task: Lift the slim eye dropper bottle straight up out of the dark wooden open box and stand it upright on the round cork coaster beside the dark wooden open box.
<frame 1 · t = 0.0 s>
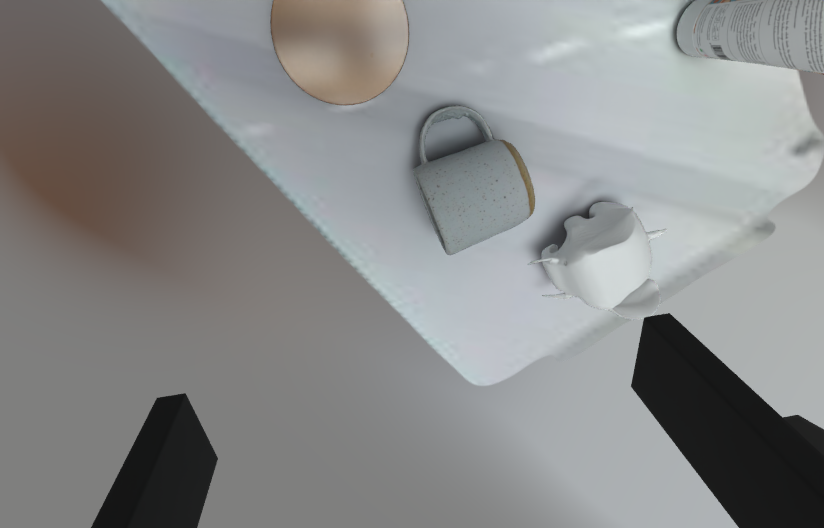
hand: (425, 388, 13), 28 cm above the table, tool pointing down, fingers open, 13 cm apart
elephant figurine: (578, 238, 44), on the table
ceramic mug: (455, 167, 39), on the table
coaster: (341, 33, 33), on the table
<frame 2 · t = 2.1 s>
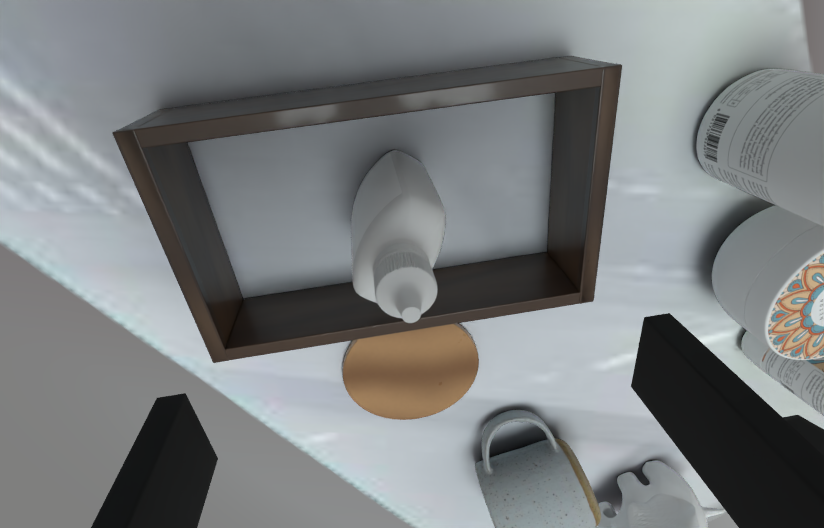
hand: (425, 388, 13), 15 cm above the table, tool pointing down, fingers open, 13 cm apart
cosmetic set: (752, 243, 31), on the table
dark wooden open box: (386, 195, 26), on the table
elephant figurine: (629, 484, 44), on the table
ceramic mug: (513, 446, 39), on the table
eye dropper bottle: (386, 194, 26), resting in dark wooden open box
coaster: (410, 366, 33), on the table
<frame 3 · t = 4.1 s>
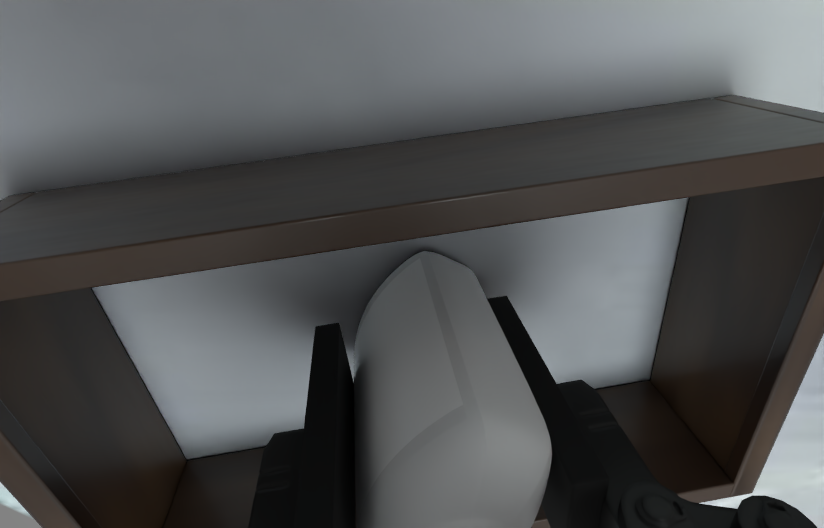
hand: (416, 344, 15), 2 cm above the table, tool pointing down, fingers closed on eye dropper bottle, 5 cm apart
dark wooden open box: (410, 314, 16), on the table
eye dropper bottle: (410, 311, 16), resting in dark wooden open box, touching gripper
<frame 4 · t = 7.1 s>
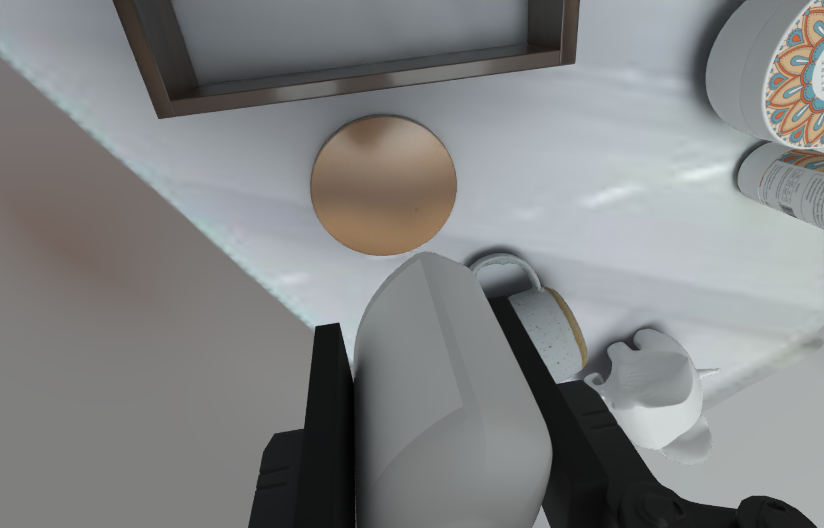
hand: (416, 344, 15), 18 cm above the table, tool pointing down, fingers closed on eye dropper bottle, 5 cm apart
cosmetic set: (749, 48, 29), on the table
elephant figurine: (620, 360, 42), on the table
ceramic mug: (497, 303, 37), on the table
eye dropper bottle: (410, 312, 16), point 16 cm above the table, touching gripper
coaster: (384, 188, 31), on the table
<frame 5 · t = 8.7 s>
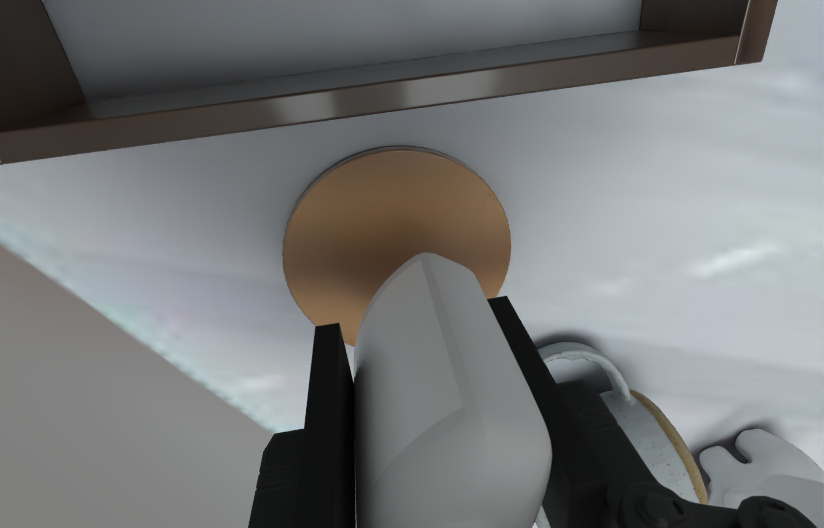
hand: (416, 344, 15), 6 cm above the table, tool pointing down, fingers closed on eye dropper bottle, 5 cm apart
elephant figurine: (713, 465, 31), on the table
ceramic mug: (555, 404, 26), on the table
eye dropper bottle: (410, 312, 16), point 4 cm above the table, touching gripper
coaster: (398, 257, 20), on the table
when the fingers open (2 cm above the table, at t = 10.0 s): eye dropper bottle stays where it is, resting on coaster.
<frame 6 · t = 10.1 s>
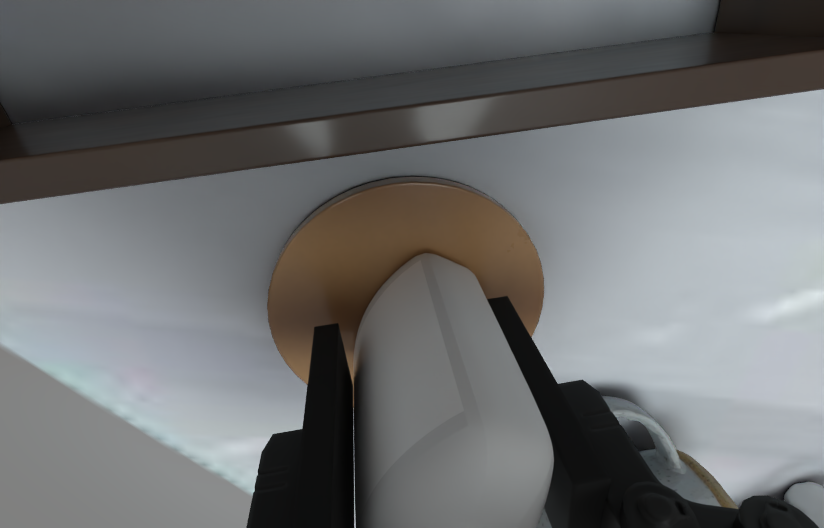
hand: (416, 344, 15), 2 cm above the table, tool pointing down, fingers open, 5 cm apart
elephant figurine: (756, 518, 28), on the table
ceramic mug: (585, 460, 23), on the table
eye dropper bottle: (410, 313, 16), resting on coaster
coaster: (408, 305, 17), on the table
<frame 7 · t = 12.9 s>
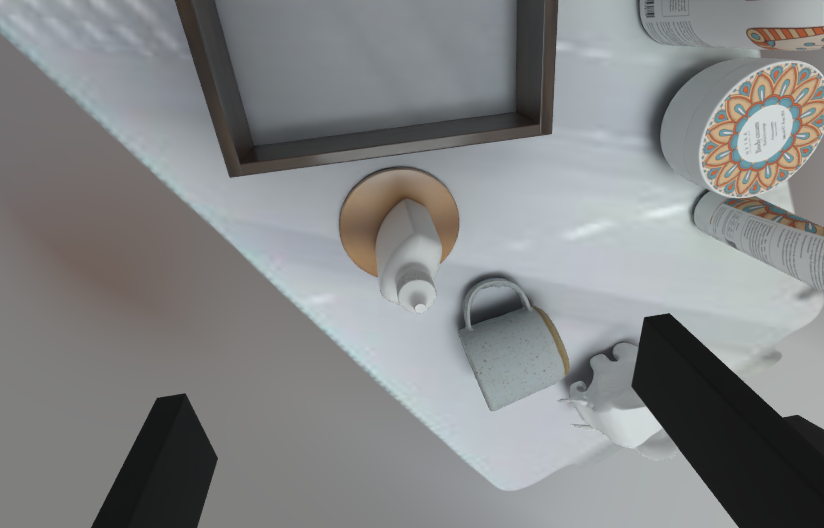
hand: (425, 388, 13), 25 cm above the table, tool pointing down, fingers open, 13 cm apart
cosmetic set: (696, 113, 36), on the table
dark wooden open box: (377, 48, 31), on the table
elephant figurine: (602, 370, 48), on the table
ceramic mug: (493, 320, 43), on the table
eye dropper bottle: (400, 228, 37), resting on coaster
coaster: (399, 225, 37), on the table
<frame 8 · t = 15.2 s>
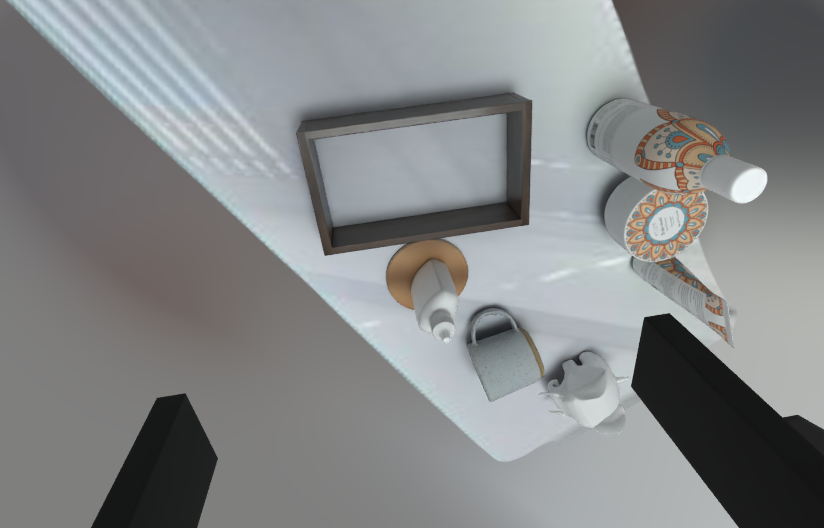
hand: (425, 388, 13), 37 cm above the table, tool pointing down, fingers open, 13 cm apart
cosmetic set: (630, 199, 53), on the table
dark wooden open box: (415, 167, 47), on the table
elephant figurine: (572, 371, 66), on the table
ceramic mug: (492, 336, 60), on the table
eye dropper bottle: (427, 277, 54), resting on coaster
coaster: (427, 274, 54), on the table
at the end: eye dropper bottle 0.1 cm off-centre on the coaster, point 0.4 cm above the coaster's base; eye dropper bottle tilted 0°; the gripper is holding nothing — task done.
